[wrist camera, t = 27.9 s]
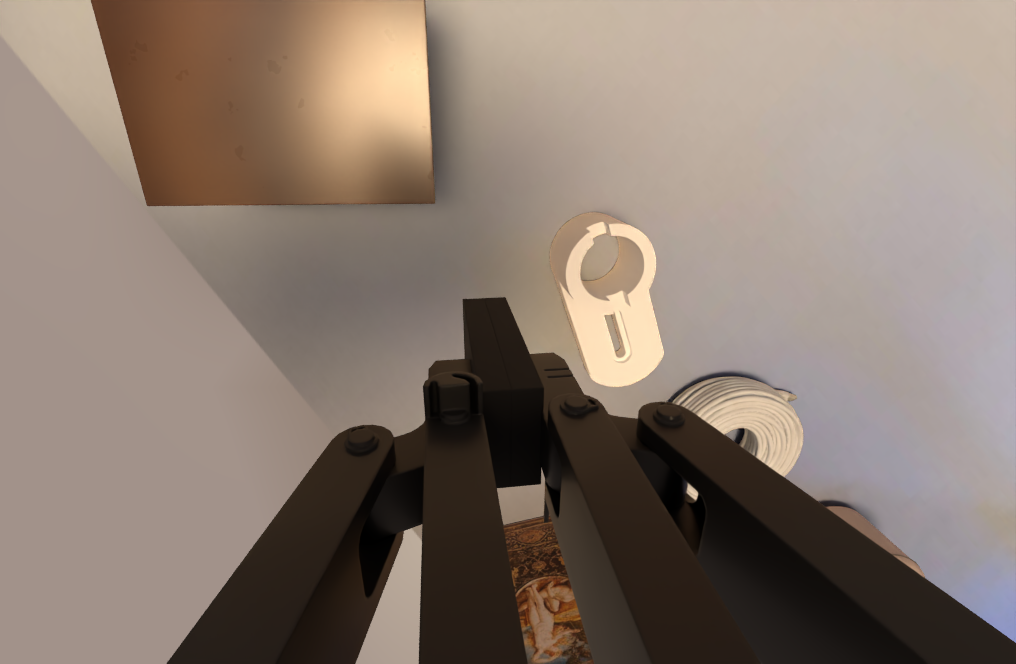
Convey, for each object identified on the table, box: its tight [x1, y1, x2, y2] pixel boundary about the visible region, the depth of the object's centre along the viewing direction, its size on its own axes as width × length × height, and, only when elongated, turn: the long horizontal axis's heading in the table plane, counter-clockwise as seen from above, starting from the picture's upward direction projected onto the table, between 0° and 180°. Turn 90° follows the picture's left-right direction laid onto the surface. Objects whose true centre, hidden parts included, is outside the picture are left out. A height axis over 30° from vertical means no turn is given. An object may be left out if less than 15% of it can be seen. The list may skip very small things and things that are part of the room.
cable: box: [672, 377, 803, 500], centre depth 60 cm, size 18×18×6 cm
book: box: [503, 515, 594, 664], centre depth 54 cm, size 16×6×25 cm, turn 99°
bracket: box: [550, 212, 664, 387], centre depth 50 cm, size 20×9×7 cm, turn 20°
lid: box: [91, 0, 435, 206], centre depth 28 cm, size 17×14×1 cm
